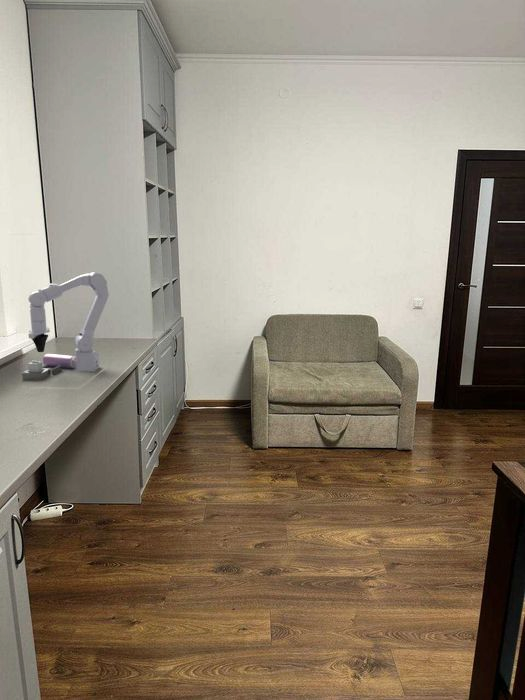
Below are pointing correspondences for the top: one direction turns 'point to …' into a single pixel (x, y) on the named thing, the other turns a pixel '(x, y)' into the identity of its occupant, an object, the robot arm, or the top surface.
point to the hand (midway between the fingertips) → (40, 351)
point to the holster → (54, 369)
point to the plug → (35, 366)
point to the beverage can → (59, 361)
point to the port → (36, 374)
